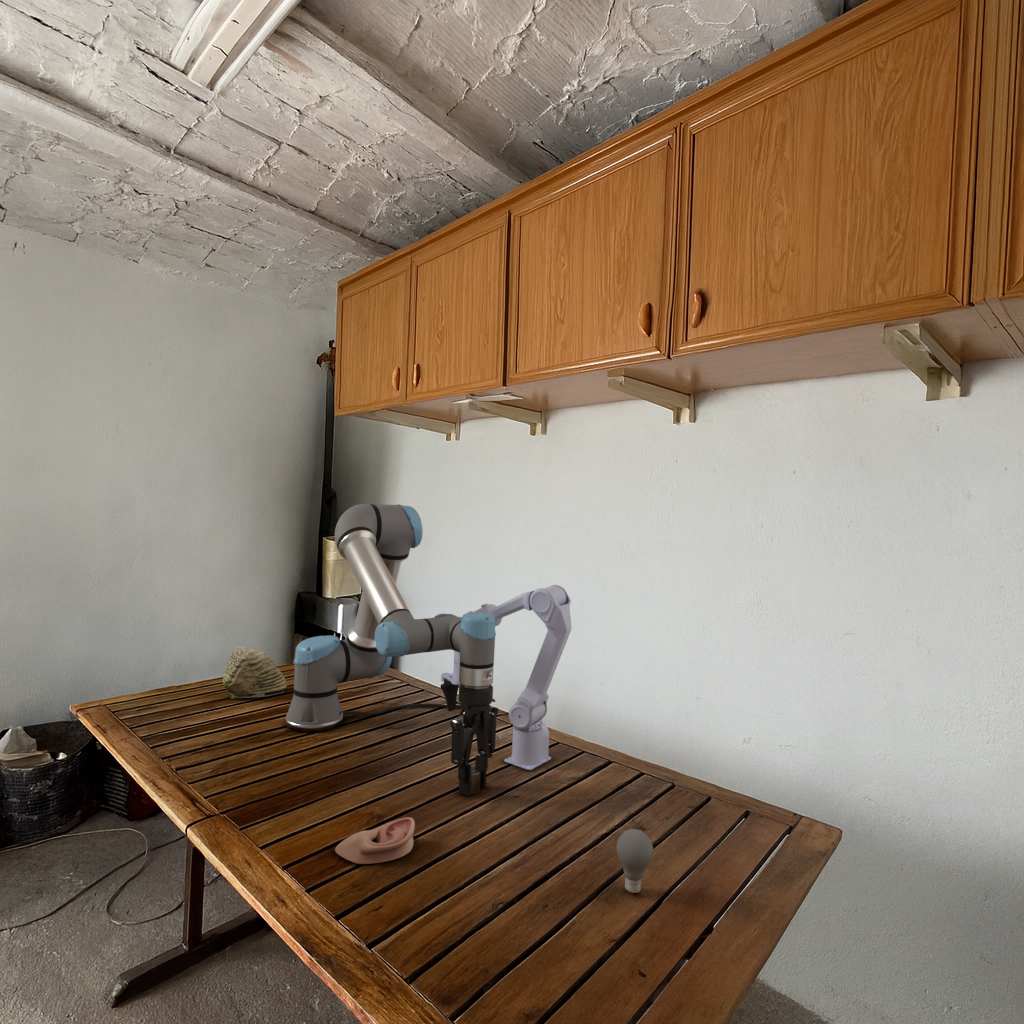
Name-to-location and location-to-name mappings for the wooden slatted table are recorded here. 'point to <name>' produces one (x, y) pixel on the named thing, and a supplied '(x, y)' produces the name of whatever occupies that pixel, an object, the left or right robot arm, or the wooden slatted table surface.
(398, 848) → the anatomical model
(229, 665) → the fossil
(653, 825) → the wooden slatted table surface
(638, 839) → the light bulb
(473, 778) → the tin
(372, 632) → the left robot arm
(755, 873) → the wooden slatted table surface
